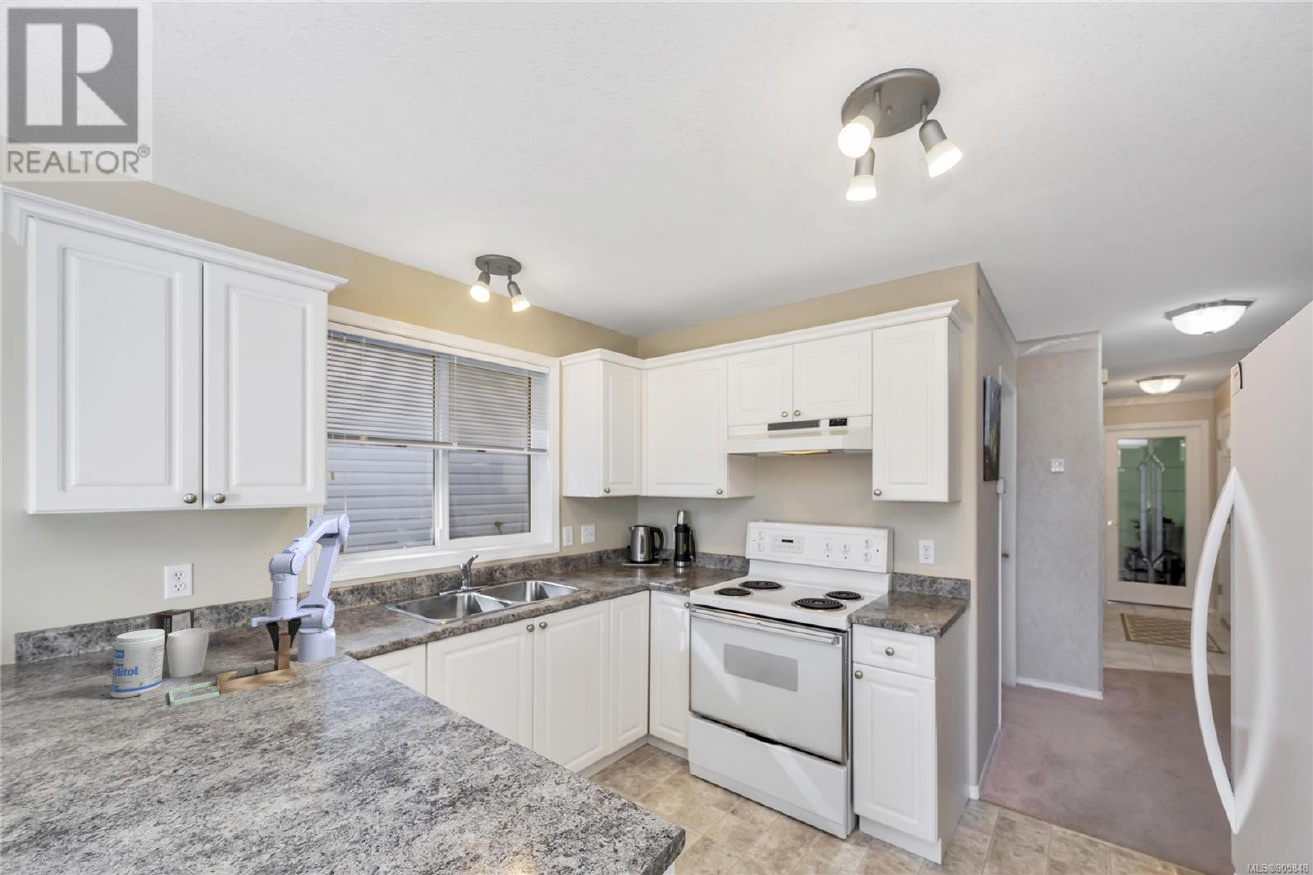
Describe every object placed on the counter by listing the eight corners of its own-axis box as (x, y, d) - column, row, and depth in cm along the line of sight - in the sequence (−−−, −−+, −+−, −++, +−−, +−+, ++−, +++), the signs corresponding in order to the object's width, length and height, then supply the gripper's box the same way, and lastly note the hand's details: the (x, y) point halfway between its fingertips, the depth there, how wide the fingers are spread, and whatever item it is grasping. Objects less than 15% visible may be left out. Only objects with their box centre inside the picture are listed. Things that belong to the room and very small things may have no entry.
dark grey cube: (252, 680, 148) (253, 666, 148) (254, 683, 146) (255, 669, 146) (236, 683, 146) (236, 669, 146) (237, 687, 143) (238, 672, 143)
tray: (213, 687, 146) (214, 680, 146) (218, 699, 138) (219, 692, 138) (168, 697, 139) (168, 689, 140) (170, 710, 131) (170, 702, 132)
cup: (169, 684, 148) (171, 638, 149) (160, 678, 153) (162, 633, 154) (211, 675, 155) (213, 630, 156) (201, 668, 161) (203, 626, 162)
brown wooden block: (285, 666, 154) (286, 632, 155) (289, 670, 150) (290, 635, 151) (274, 668, 152) (275, 634, 153) (278, 672, 149) (279, 637, 149)
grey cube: (270, 676, 151) (271, 663, 151) (273, 679, 148) (273, 666, 149) (254, 679, 148) (255, 666, 149) (256, 683, 146) (257, 669, 146)
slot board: (288, 672, 156) (289, 660, 157) (296, 682, 149) (296, 668, 149) (216, 687, 145) (216, 674, 146) (220, 698, 138) (221, 684, 138)
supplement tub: (101, 701, 137) (105, 640, 138) (124, 687, 146) (128, 630, 147) (149, 696, 140) (152, 636, 141) (169, 683, 149) (172, 627, 150)
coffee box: (193, 666, 163) (196, 610, 164) (169, 673, 157) (172, 615, 158) (169, 664, 165) (172, 608, 166) (145, 671, 159) (148, 613, 160)
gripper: (254, 604, 145) (252, 658, 144) (318, 596, 155) (316, 646, 154) (250, 600, 150) (248, 652, 149) (312, 592, 160) (310, 641, 159)
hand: (282, 649), depth 152 cm, fingers closed on brown wooden block, 2 cm apart
